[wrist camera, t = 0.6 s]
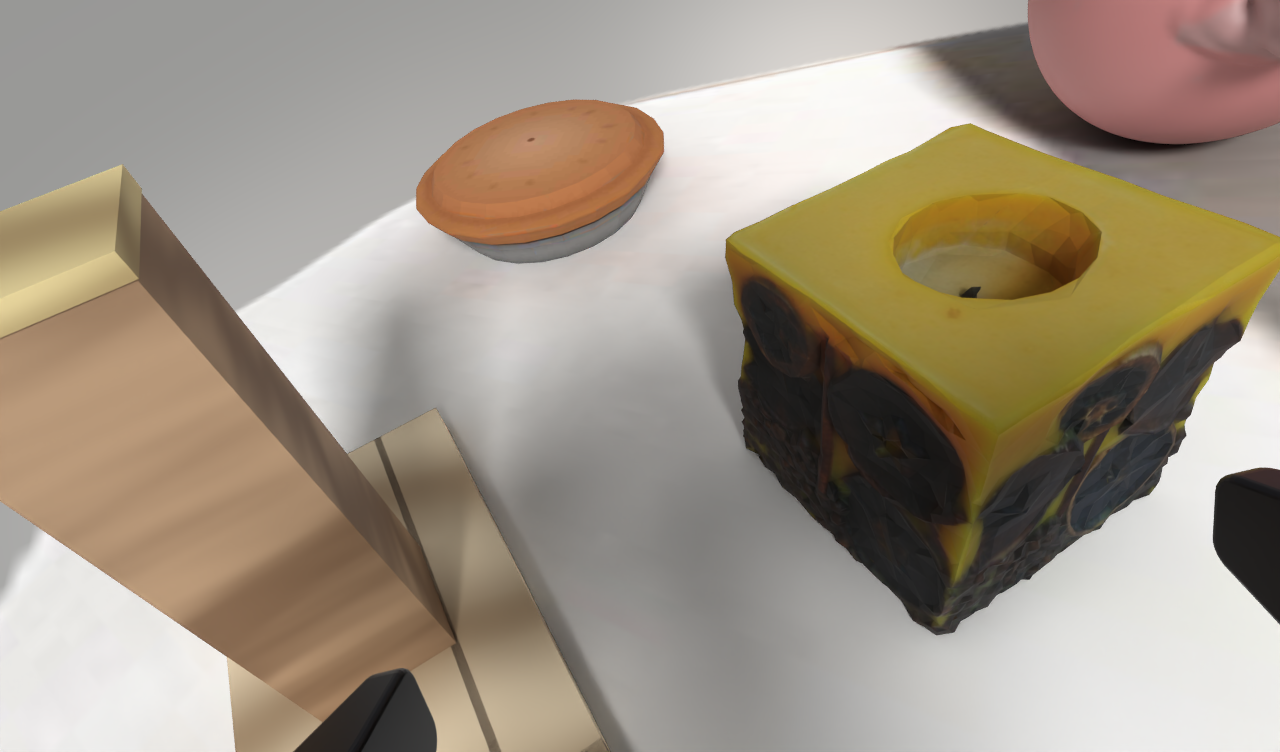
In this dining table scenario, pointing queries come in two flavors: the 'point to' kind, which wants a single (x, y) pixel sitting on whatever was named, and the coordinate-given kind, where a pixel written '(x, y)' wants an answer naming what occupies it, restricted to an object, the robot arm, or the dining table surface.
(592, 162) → the pie
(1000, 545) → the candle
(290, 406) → the tall wooden pillar
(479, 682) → the board
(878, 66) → the dining table surface
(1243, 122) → the balloon
